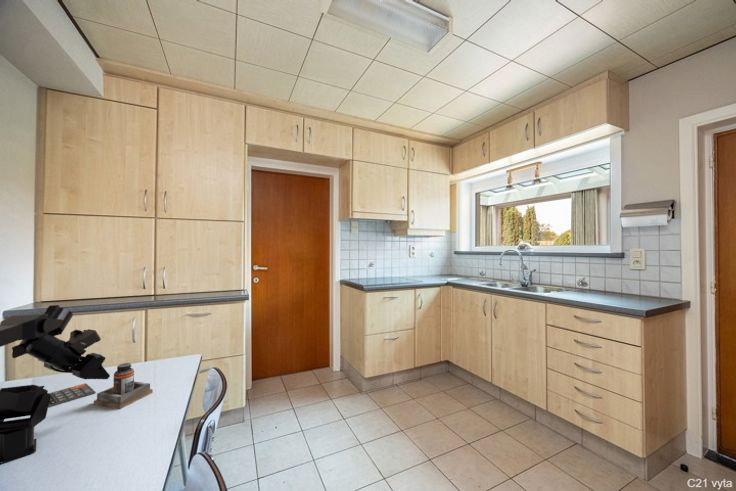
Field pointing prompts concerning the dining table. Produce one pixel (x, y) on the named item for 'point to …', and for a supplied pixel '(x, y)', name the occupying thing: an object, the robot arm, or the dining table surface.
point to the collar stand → (123, 396)
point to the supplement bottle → (123, 379)
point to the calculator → (70, 394)
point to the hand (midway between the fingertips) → (99, 375)
